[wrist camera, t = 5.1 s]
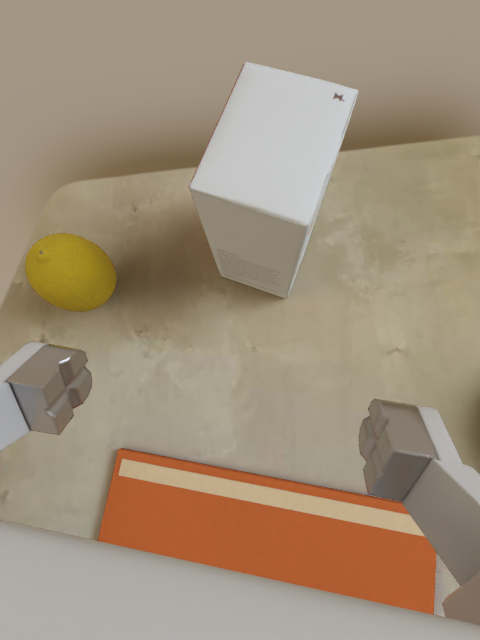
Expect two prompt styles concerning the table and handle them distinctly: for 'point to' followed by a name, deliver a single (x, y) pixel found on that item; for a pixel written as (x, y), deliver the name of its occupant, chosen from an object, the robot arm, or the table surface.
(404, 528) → the towel
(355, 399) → the table surface
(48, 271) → the lemon
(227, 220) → the small box
